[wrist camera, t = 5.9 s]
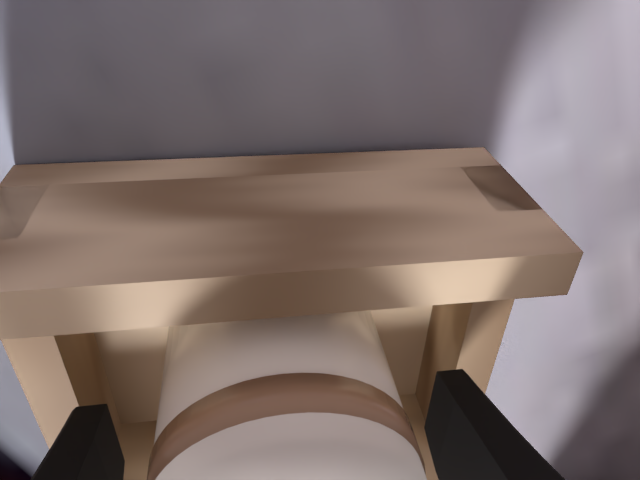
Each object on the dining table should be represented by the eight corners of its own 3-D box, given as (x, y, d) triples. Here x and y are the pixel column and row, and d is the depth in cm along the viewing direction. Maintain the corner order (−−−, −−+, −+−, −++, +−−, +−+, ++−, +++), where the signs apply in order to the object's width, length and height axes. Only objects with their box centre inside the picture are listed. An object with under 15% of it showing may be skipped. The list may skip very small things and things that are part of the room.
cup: (182, 396, 15) (164, 613, 11) (153, 246, 12) (110, 459, 8) (361, 377, 16) (415, 574, 11) (375, 231, 13) (455, 419, 8)
